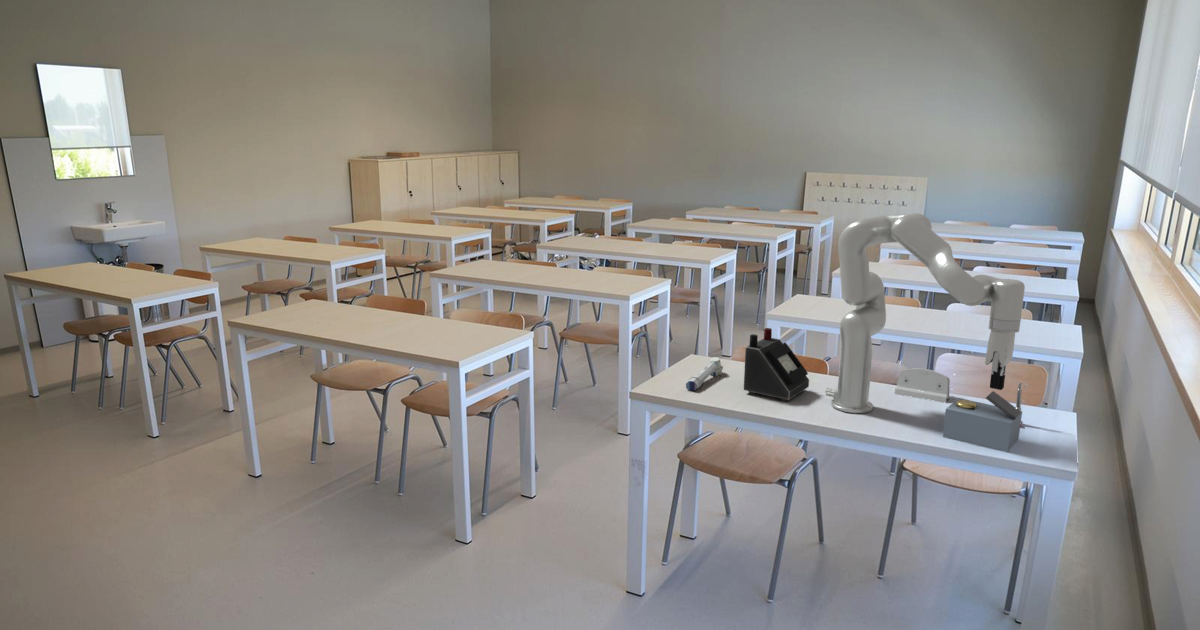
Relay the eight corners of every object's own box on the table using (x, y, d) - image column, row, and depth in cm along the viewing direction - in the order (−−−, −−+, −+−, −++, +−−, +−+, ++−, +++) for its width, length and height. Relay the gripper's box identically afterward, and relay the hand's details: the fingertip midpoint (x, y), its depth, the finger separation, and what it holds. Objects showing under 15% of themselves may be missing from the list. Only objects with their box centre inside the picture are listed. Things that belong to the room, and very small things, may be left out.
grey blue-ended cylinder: (683, 379, 261) (711, 352, 281) (684, 397, 263) (711, 369, 283) (698, 382, 258) (725, 354, 278) (698, 399, 261) (725, 371, 281)
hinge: (893, 393, 258) (898, 364, 259) (896, 394, 262) (900, 365, 263) (946, 403, 249) (951, 372, 250) (948, 403, 253) (953, 373, 254)
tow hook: (986, 426, 231) (1021, 429, 227) (989, 385, 228) (1025, 387, 225) (984, 417, 238) (1018, 419, 235) (987, 377, 236) (1021, 379, 232)
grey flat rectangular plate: (985, 398, 215) (987, 396, 214) (991, 392, 219) (993, 390, 219) (1014, 420, 211) (1016, 418, 211) (1019, 414, 215) (1021, 412, 215)
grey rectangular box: (942, 436, 221) (945, 408, 220) (955, 425, 230) (958, 398, 228) (1007, 452, 211) (1011, 423, 209) (1018, 439, 220) (1022, 411, 218)
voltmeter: (789, 404, 248) (793, 344, 244) (743, 394, 258) (746, 336, 253) (809, 391, 261) (813, 333, 256) (764, 381, 270) (767, 326, 266)
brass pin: (950, 434, 223) (953, 403, 221) (956, 429, 227) (960, 398, 225) (969, 438, 220) (972, 407, 218) (975, 433, 224) (979, 402, 222)
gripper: (996, 317, 219) (989, 379, 223) (981, 327, 208) (974, 392, 212) (1026, 321, 214) (1018, 384, 218) (1012, 331, 203) (1004, 398, 207)
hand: (996, 388), depth 215 cm, fingers closed
